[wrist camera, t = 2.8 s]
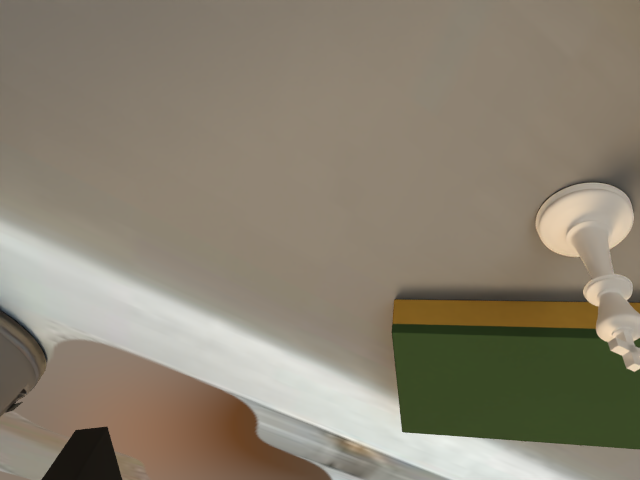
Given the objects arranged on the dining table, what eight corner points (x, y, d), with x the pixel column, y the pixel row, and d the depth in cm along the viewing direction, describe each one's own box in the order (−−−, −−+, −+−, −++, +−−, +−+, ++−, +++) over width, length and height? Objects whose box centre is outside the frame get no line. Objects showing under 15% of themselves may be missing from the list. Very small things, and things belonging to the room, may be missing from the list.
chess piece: (578, 167, 26) (635, 313, 19) (653, 206, 27) (735, 360, 20) (517, 228, 30) (545, 373, 22) (585, 261, 30) (634, 411, 23)
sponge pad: (403, 399, 44) (402, 432, 42) (394, 298, 35) (391, 332, 33) (663, 415, 39) (677, 452, 37) (722, 303, 31) (744, 342, 29)
